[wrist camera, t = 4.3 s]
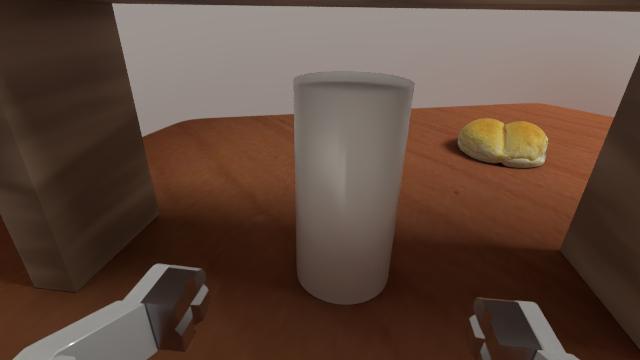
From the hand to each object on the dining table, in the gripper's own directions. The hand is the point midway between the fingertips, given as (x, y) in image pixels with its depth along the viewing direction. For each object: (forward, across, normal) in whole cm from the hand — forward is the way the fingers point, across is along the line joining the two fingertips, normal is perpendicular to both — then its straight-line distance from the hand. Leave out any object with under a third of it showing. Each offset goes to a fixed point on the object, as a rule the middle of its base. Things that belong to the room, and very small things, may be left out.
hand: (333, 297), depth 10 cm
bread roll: (+30, -16, +6) cm, 35 cm away
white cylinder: (+8, 0, +6) cm, 10 cm away
